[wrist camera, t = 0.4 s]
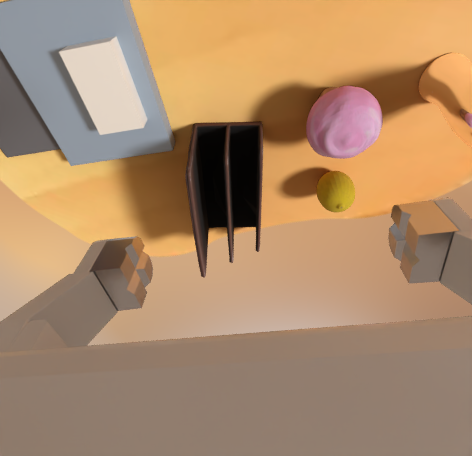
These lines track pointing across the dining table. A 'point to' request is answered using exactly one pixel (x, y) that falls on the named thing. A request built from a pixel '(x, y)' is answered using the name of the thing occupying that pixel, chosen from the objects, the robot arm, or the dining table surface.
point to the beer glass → (451, 92)
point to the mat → (20, 118)
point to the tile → (105, 85)
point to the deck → (61, 84)
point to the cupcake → (344, 122)
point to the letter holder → (224, 181)
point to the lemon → (335, 191)
